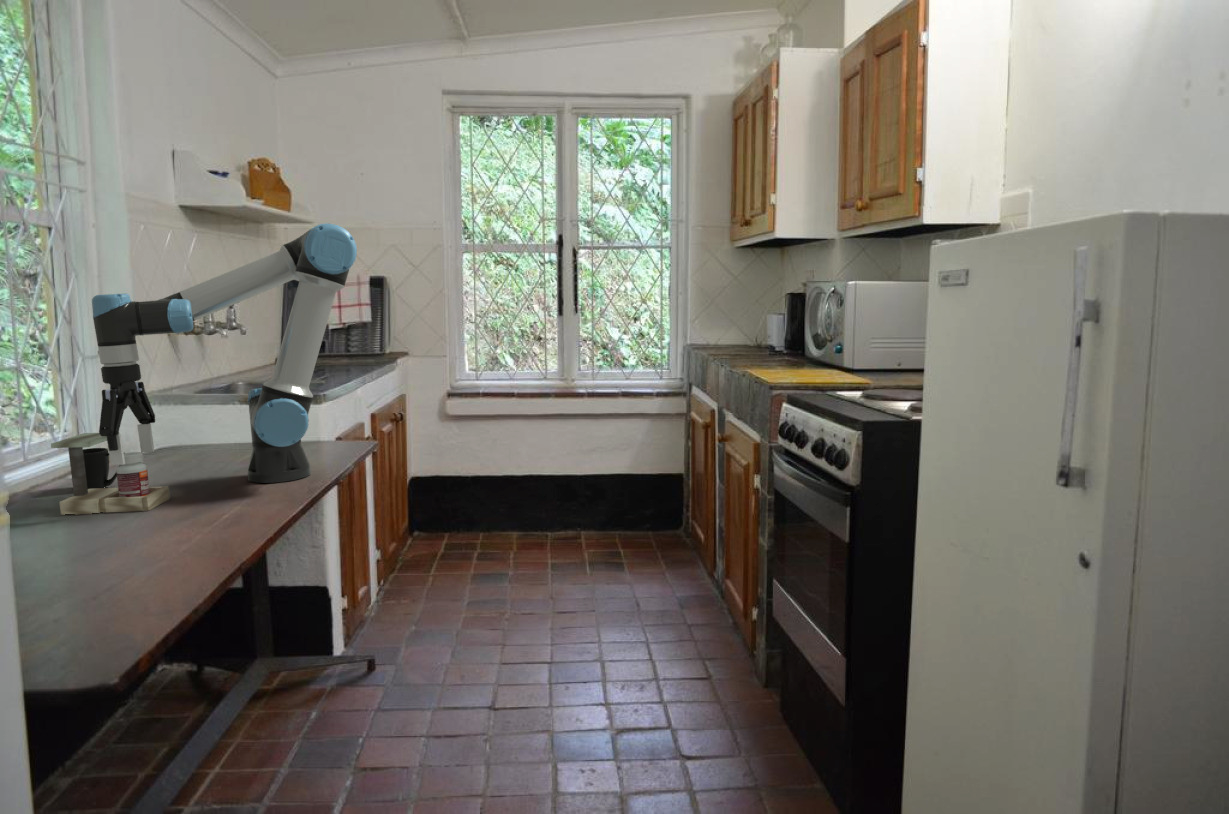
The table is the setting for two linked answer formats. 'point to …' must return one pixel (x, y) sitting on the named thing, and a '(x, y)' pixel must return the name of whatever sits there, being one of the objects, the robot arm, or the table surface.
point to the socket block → (100, 497)
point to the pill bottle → (133, 476)
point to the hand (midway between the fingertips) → (133, 458)
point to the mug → (97, 468)
